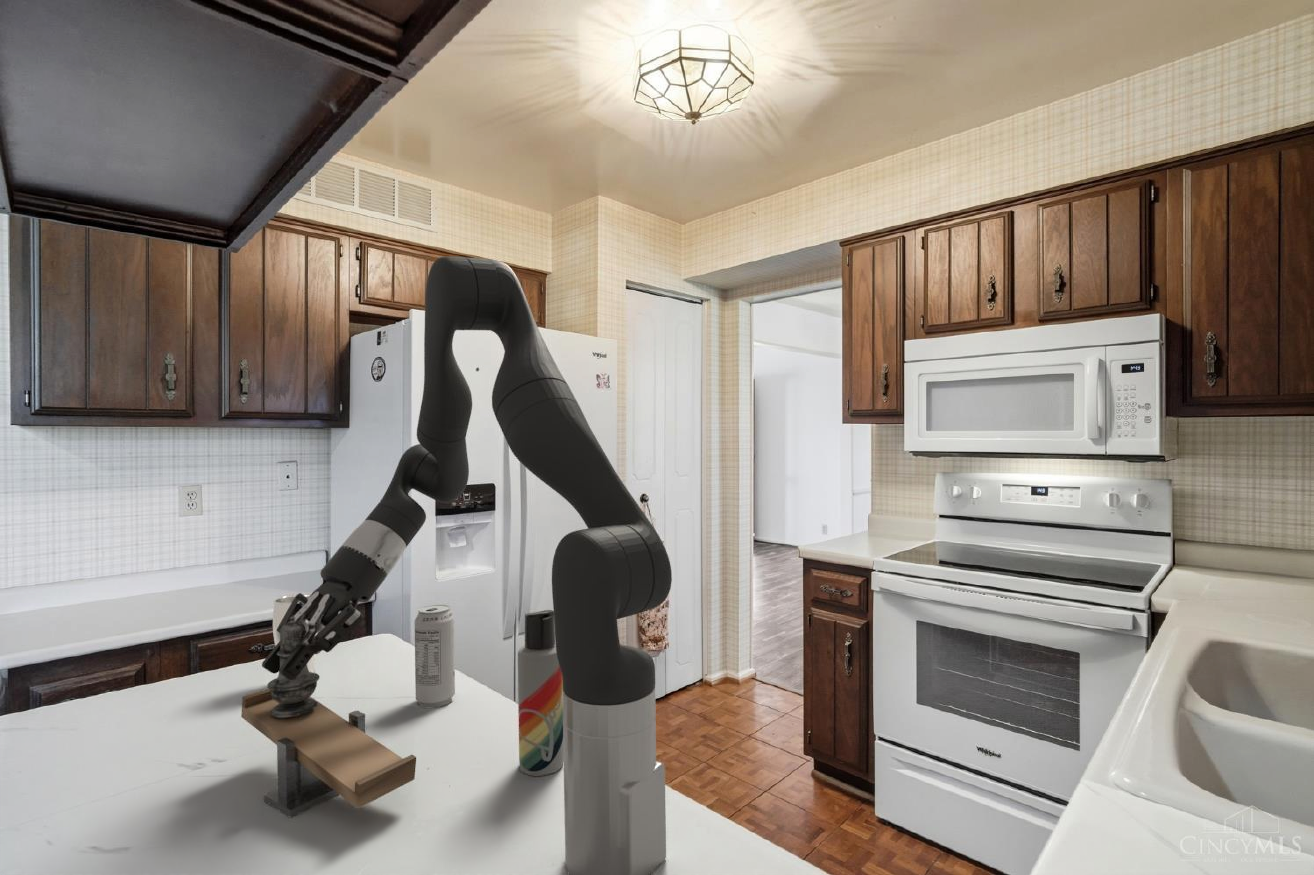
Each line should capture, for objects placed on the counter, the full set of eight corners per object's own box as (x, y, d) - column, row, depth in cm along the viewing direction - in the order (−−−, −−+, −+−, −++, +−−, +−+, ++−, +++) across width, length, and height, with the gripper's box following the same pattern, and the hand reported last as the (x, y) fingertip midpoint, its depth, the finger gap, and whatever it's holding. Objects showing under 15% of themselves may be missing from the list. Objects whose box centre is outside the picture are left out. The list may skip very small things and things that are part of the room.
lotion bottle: (529, 781, 80) (527, 619, 80) (512, 762, 84) (510, 609, 84) (571, 768, 83) (569, 611, 83) (553, 750, 87) (550, 602, 87)
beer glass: (282, 678, 115) (281, 594, 115) (324, 675, 117) (323, 592, 117) (266, 693, 109) (265, 604, 109) (311, 690, 110) (310, 602, 110)
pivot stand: (379, 774, 82) (378, 715, 82) (290, 817, 73) (289, 751, 73) (352, 761, 85) (351, 705, 85) (263, 801, 76) (263, 738, 76)
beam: (414, 779, 75) (416, 757, 75) (357, 808, 69) (359, 784, 69) (296, 698, 89) (297, 679, 89) (241, 716, 83) (242, 696, 83)
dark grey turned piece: (297, 720, 79) (295, 622, 79) (256, 716, 81) (254, 620, 81) (330, 700, 85) (328, 609, 85) (291, 697, 86) (289, 608, 86)
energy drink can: (463, 698, 106) (461, 606, 106) (433, 712, 100) (432, 615, 100) (437, 691, 109) (436, 602, 109) (407, 704, 103) (406, 610, 103)
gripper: (318, 540, 93) (226, 648, 83) (377, 548, 85) (283, 669, 75) (354, 570, 97) (270, 676, 87) (413, 581, 90) (328, 699, 79)
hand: (277, 672), depth 81 cm, fingers closed on dark grey turned piece, 3 cm apart
